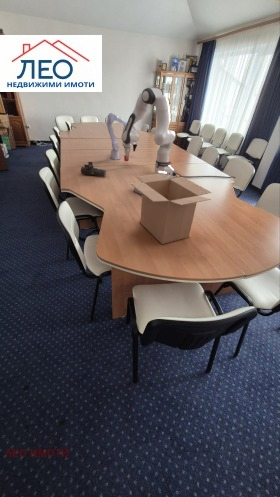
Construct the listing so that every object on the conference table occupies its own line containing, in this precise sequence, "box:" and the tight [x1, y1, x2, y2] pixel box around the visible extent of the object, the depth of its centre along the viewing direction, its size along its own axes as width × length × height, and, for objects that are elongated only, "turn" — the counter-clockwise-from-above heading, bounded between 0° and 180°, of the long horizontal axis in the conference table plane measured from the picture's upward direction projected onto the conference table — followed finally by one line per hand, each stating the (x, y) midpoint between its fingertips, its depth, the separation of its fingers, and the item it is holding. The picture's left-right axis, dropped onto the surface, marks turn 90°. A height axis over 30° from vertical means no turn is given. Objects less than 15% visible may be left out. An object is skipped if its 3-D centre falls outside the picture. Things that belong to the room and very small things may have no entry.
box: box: [128, 173, 212, 245], centre depth 124 cm, size 44×36×27 cm
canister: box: [123, 154, 130, 162], centre depth 229 cm, size 5×5×5 cm
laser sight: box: [80, 161, 107, 177], centre depth 198 cm, size 10×22×10 cm, turn 78°
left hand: (131, 151), depth 253 cm, fingers open, 7 cm apart
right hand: (126, 158), depth 229 cm, fingers closed on canister, 5 cm apart
